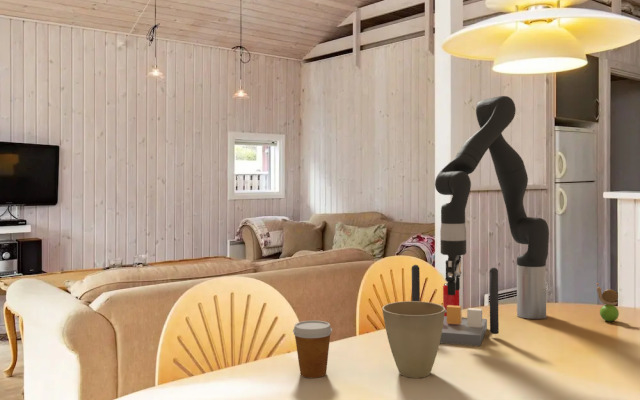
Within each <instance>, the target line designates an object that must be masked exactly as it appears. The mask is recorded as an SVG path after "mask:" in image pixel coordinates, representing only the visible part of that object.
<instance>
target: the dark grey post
mask: <svg viewBox="0 0 640 400" xmlns="http://www.w3.org/2000/svg"><path fill="white" fill-rule="evenodd" d="M488 271H489V274H488V275H489V333H490V334H491V335H499V332H500V329H499V270H498V268H496V267H491V268H490V269H489V270H488Z"/></svg>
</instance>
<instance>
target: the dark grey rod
mask: <svg viewBox="0 0 640 400" xmlns="http://www.w3.org/2000/svg"><path fill="white" fill-rule="evenodd" d="M420 272H421V271H420V266H419V265H418V264H413V265H412V266H411V301H420V302H421V294H420V293H421V292H420V291H421V289H420V288H421V284H420V282H421V281H420V280H421V277H420Z"/></svg>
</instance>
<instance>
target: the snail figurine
mask: <svg viewBox="0 0 640 400" xmlns="http://www.w3.org/2000/svg"><path fill="white" fill-rule="evenodd" d="M598 285H599V283H598V282H597V283H596V291H597V295H598V299H599V300H600V302H601V303H602V304H604V305H603V306H601V308H600V310H599V315H600V317H601V319H602V320H604V321H605V322H614V321H616V320H617V319H618V317H619V314H620V312H619V309H618V308H617V307H616V305H618V304H619V302H618V301H617V300H618V298H619V296H618V295H619V294H618V293H617V291H616V290H614V289H610V288H607V289H605V290H603V292H602V288H601V286H598Z"/></svg>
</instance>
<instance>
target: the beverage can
mask: <svg viewBox="0 0 640 400" xmlns="http://www.w3.org/2000/svg"><path fill="white" fill-rule="evenodd" d="M442 301H443V303H442V304H443V305H442V306H443V307H445V314H444V316H447V306H448V305H453V306H460V289H459V290H456V294H455V295H448V282H445V283H443V286H442Z"/></svg>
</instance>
